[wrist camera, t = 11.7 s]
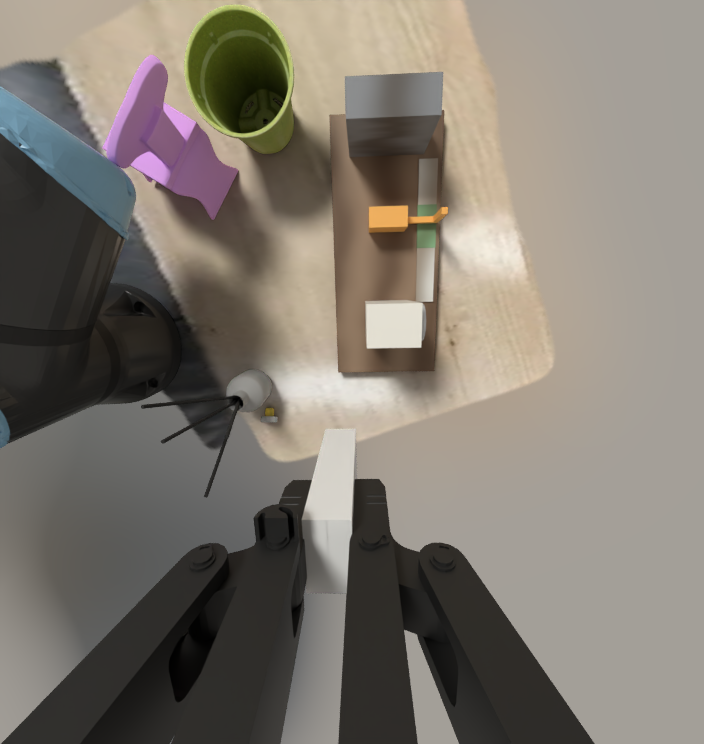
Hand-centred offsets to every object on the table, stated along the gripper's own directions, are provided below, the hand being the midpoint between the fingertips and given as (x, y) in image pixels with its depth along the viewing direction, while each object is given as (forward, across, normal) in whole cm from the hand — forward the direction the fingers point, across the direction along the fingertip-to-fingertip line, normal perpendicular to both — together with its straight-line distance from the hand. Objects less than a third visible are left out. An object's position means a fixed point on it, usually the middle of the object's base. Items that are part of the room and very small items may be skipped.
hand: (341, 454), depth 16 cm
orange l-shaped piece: (+25, +6, +15) cm, 30 cm away
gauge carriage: (+25, +4, +5) cm, 26 cm away
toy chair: (+26, -18, +21) cm, 38 cm away
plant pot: (+27, -9, +26) cm, 38 cm away
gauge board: (+26, +4, +12) cm, 29 cm away
